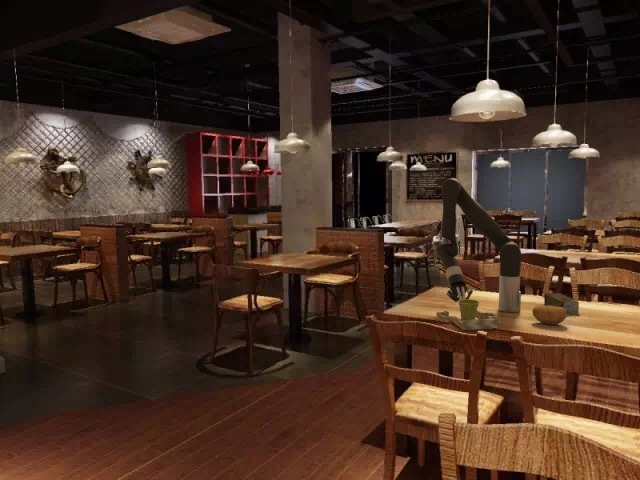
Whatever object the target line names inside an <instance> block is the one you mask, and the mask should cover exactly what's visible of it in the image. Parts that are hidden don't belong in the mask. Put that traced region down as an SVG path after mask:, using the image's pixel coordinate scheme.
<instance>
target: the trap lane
mask: <svg viewBox="0 0 640 480" xmlns="http://www.w3.org/2000/svg"><path fill="white" fill-rule="evenodd" d="M435 314H436V319H438V320H439V321H440V320H441V321H440V322H442V323H453V324H455V325H456V326H457V327H459V328H460V329H461V330H463V331H469V330H491V329H492V330H493V328H496V329H501V316H500V315H498V314H497V313H495V312H493V311H481V310H480V309H478V308H477V312H476V316H477V317H478V319H477V318H476V319H474V320H463V321H462V320H461V318H458V317H457V316H455V315H450V312H449V311H448V310H444V311H436V313H435Z"/></svg>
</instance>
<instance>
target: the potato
mask: <svg viewBox="0 0 640 480" xmlns="http://www.w3.org/2000/svg"><path fill="white" fill-rule="evenodd" d="M531 311H532V316H533V317H534V319H536V320H537V321H539V322H540V323H541V324H545V325H558V324H561V323H563V322H564V321H565V319H566V318H567V316H568V314H567V312H566V310H565V309H564V308H562V307H555V306H547V305H536V306H534V307H533V308H532V310H531Z"/></svg>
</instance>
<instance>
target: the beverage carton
mask: <svg viewBox="0 0 640 480" xmlns="http://www.w3.org/2000/svg"><path fill="white" fill-rule="evenodd" d="M543 295H544V299H543V302H544V306H555V307H562V308H564V309H565V310H566V312H567V315H570V314H573V315H574V314H579V312H580V311H579V310H580V306H579V304H580V302H579V301H577V300H576V299H573V298H571V297H569V296H567V295H564V294H562V293H560V292H550V293H549V292H546V293H545V292H544V294H543Z"/></svg>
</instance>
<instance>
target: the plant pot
mask: <svg viewBox="0 0 640 480" xmlns="http://www.w3.org/2000/svg"><path fill="white" fill-rule="evenodd" d="M457 303H458V305H459V311H460V320H461V321H463V320H474V319H477V318H476V312H477V309H478V307H479V304H480V301H479V300H476V299H470V298H469V299H462V300H458V302H457Z"/></svg>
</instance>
